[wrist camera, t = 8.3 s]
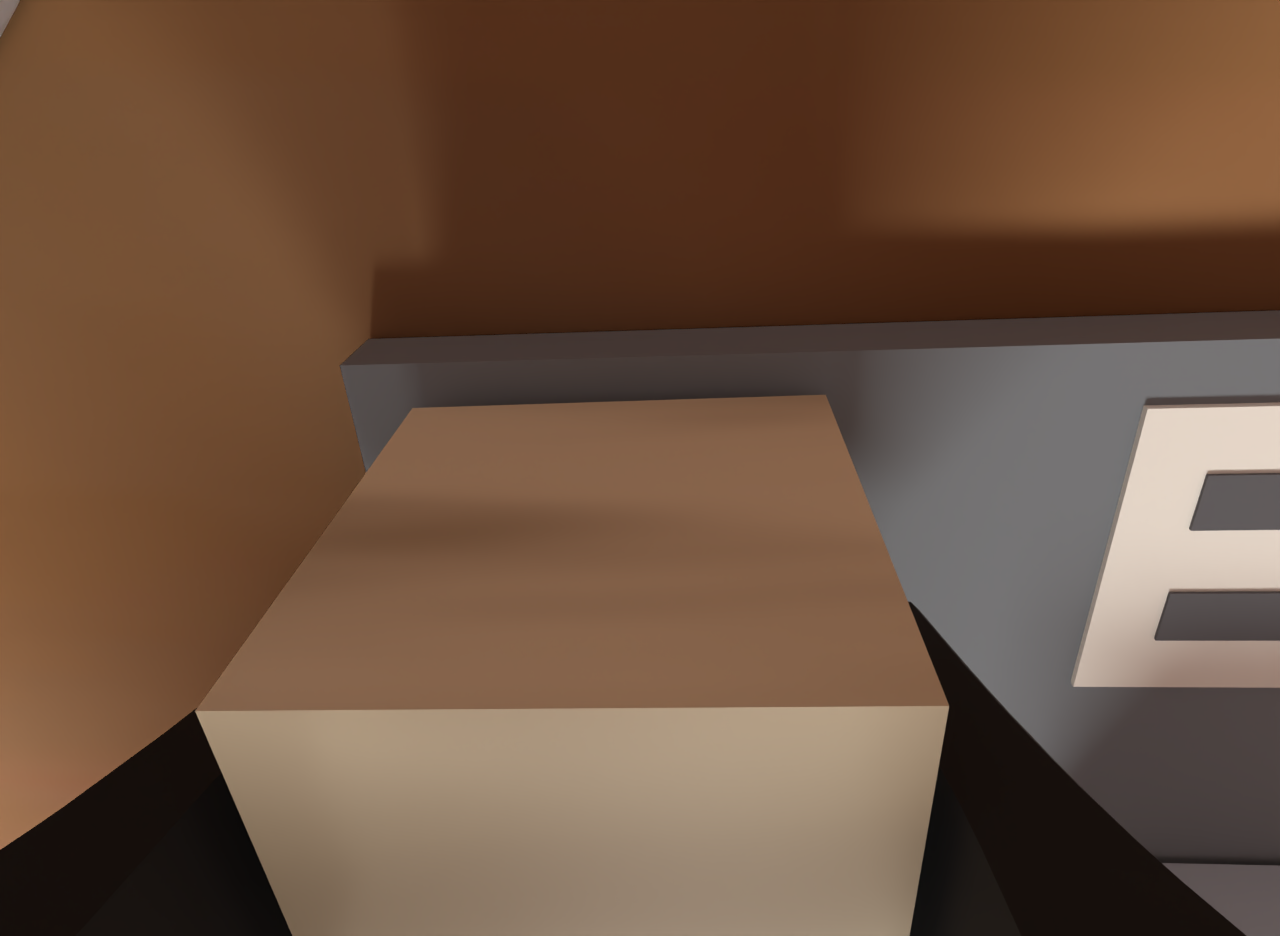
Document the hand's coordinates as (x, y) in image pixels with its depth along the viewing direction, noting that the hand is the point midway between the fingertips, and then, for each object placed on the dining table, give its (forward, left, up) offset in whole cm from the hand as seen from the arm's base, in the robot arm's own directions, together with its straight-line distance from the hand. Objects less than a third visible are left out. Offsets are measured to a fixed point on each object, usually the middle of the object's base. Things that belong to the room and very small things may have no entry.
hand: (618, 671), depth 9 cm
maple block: (0, 0, -2) cm, 2 cm away
